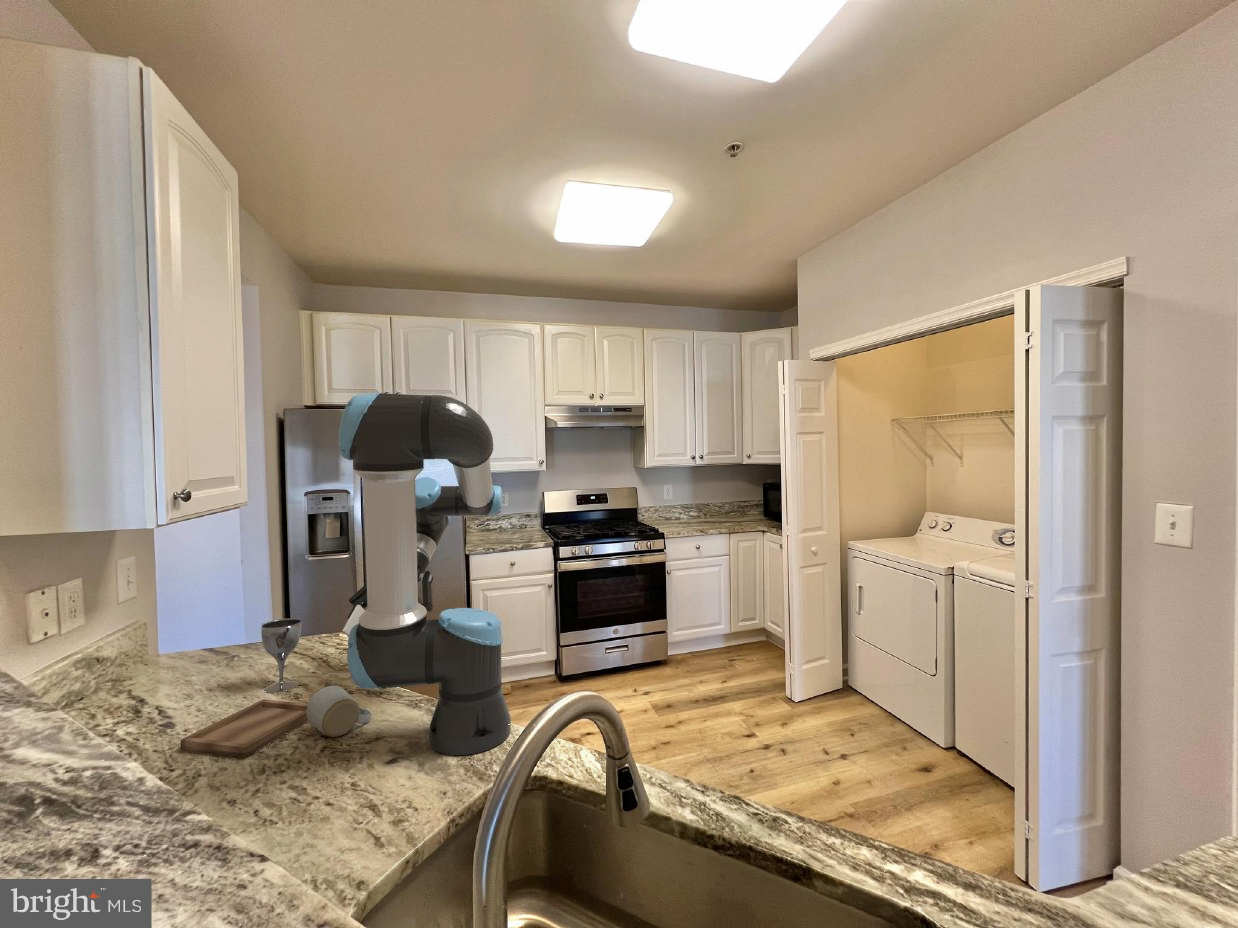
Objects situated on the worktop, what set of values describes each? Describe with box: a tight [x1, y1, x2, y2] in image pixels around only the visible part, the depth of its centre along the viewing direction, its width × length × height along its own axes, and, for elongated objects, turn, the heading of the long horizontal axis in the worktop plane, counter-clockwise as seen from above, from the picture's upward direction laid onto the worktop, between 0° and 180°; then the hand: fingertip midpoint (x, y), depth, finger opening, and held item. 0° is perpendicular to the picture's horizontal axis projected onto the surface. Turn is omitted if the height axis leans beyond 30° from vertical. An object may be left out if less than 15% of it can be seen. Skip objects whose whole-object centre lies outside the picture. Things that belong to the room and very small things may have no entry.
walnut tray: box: [180, 699, 309, 760], centre depth 99 cm, size 14×17×2 cm
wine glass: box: [260, 617, 302, 694], centre depth 121 cm, size 8×8×15 cm
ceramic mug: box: [306, 685, 372, 738], centre depth 101 cm, size 11×8×8 cm
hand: (373, 636), depth 111 cm, fingers open, 13 cm apart
